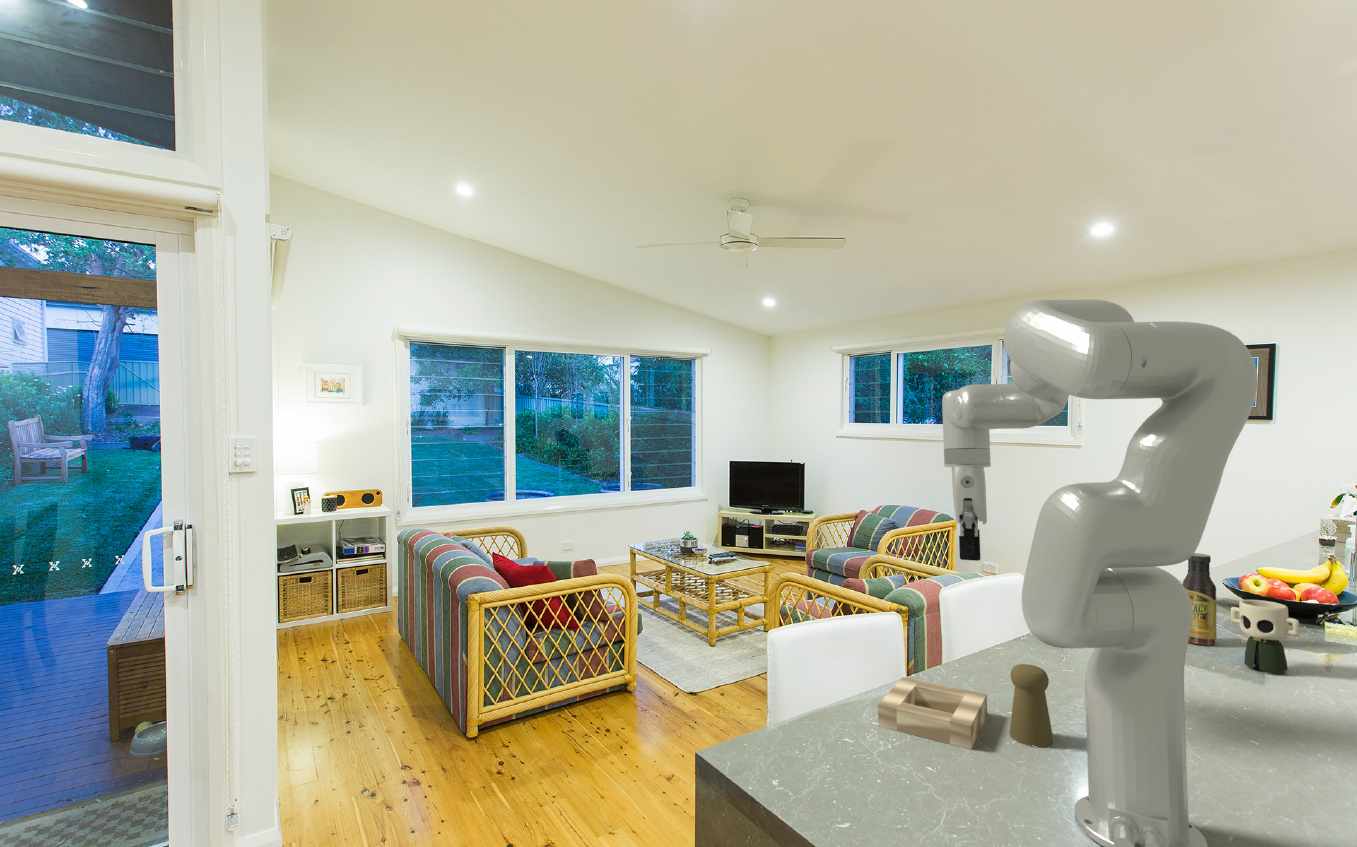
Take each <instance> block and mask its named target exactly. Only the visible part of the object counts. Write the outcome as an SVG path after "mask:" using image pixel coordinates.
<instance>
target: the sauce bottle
mask: <svg viewBox="0 0 1357 847" xmlns="http://www.w3.org/2000/svg"><path fill="white" fill-rule="evenodd" d="M1211 560H1212V559H1211V555H1209V554H1206V553H1197V552H1194V554H1193V555H1192V556H1191V557H1190V558H1189V559H1187V568H1188V569H1187V575H1186V576H1185V578H1184V579H1183V581H1182V585H1183V586H1184V588H1185V589H1186V591H1187V593H1188V595H1189V597H1190V600H1191V604H1192V613H1193V615H1192V626H1191V632H1190V636H1189V641H1188V644H1193V645H1197V644H1198V646H1204V647H1205V646H1206V647H1207V646H1215V644H1216V639H1217V638H1218V637H1217V609H1218V608H1217V606H1218V605H1217V600H1218V599H1217V586H1216V585H1215V583H1214V582H1213V580H1212V578H1211V576H1210V575H1211V572H1210V563H1211V562H1212V561H1211Z"/></svg>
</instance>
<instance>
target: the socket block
mask: <svg viewBox="0 0 1357 847" xmlns="http://www.w3.org/2000/svg"><path fill="white" fill-rule="evenodd" d="M877 717H878V718H877V720H878V721H877V722H878V727H880V728H884V729H887V730H893V731H897V732H900V733H904V734H909V735H911V736H917V737H921V738H924V739H929V740H933V741H937V742H940V743H945V744H948V745H951V746H957V747H960V748H964V749H968V750H972V749H973V747H974V745H975V742H976V741H977V738H978V736H979V735H980V732H981V730H982V727H983V726H984V723H985V722H986V720H987V717H988V694H987V693H982V692H977V691H972V690H966V689H962V688H956V687H952V686H946V685H942V684H936V683H933V682H928V681H922V680H917V679H913V678H907V677H901V678H900V679H899V680H898V681H897V682H896V683H895V685H894V686H893V687H892V688H891V689H890V690H889V691H888V693H887V694H886V695H885V696H884V697H883V698H882V699H881V701H879V703H878V704H877Z"/></svg>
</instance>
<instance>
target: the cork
mask: <svg viewBox="0 0 1357 847" xmlns="http://www.w3.org/2000/svg"><path fill="white" fill-rule="evenodd" d="M1010 679H1011V683H1012V684H1013V686H1014V690H1013V691H1014V692H1013V698H1012V708H1011V716H1010V726H1009V737H1010V738H1012V740H1013V741H1016V742H1017V743H1019V744H1022V745H1024V744H1025V746H1028V745H1034V746H1037V747H1036V748H1049V747H1051V746H1053V745H1054V743H1055V742H1054V736H1053V729H1052V724H1051V718H1050V714H1049V713H1050V712H1049V707H1048V701H1047V696H1046V690H1047V689H1048V687H1049V682H1050V681H1049V676H1048V674H1047V672H1046V671H1045V670H1044V669H1043V668H1041V667H1040V666H1038V665H1033V664H1026V663H1020V664H1016V665H1014V666H1013V667H1012V668H1011V670H1010ZM1048 746H1049V747H1048Z"/></svg>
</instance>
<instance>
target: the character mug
mask: <svg viewBox="0 0 1357 847" xmlns="http://www.w3.org/2000/svg"><path fill="white" fill-rule="evenodd" d="M1238 605H1239V607H1237V606H1231V608H1230V620H1231V622H1232V623H1234V624H1237V625H1239V628H1240V629H1241V632H1242V633H1243V634H1245V635H1246V636H1249V637H1248V638H1247V640H1246V645H1245V650H1244V651H1245V652H1244V660H1243V661H1244V662H1243V663H1244V664H1245V666H1247V667H1249V668H1251V669H1255V668H1256V669H1257V668H1259V671H1263V672H1269V673H1282V672H1286V671H1288V669H1289V668H1288V667H1289V666H1288V662H1287V657H1286V653H1285V648H1284V645H1283V644H1282V642H1281V641H1285V640H1287V639H1289V637H1290V636H1293V637H1299V636H1300V635H1301V634H1300V622H1299V620H1298V619H1296V618H1292V617H1289V608H1288V606H1287V605H1285V604H1282V603H1279V602H1275V601H1268V600H1260V599H1241V600H1239V603H1238ZM1238 613H1239V616H1238ZM1238 617H1239V618H1238ZM1290 624H1292V630H1291V629H1290Z"/></svg>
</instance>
